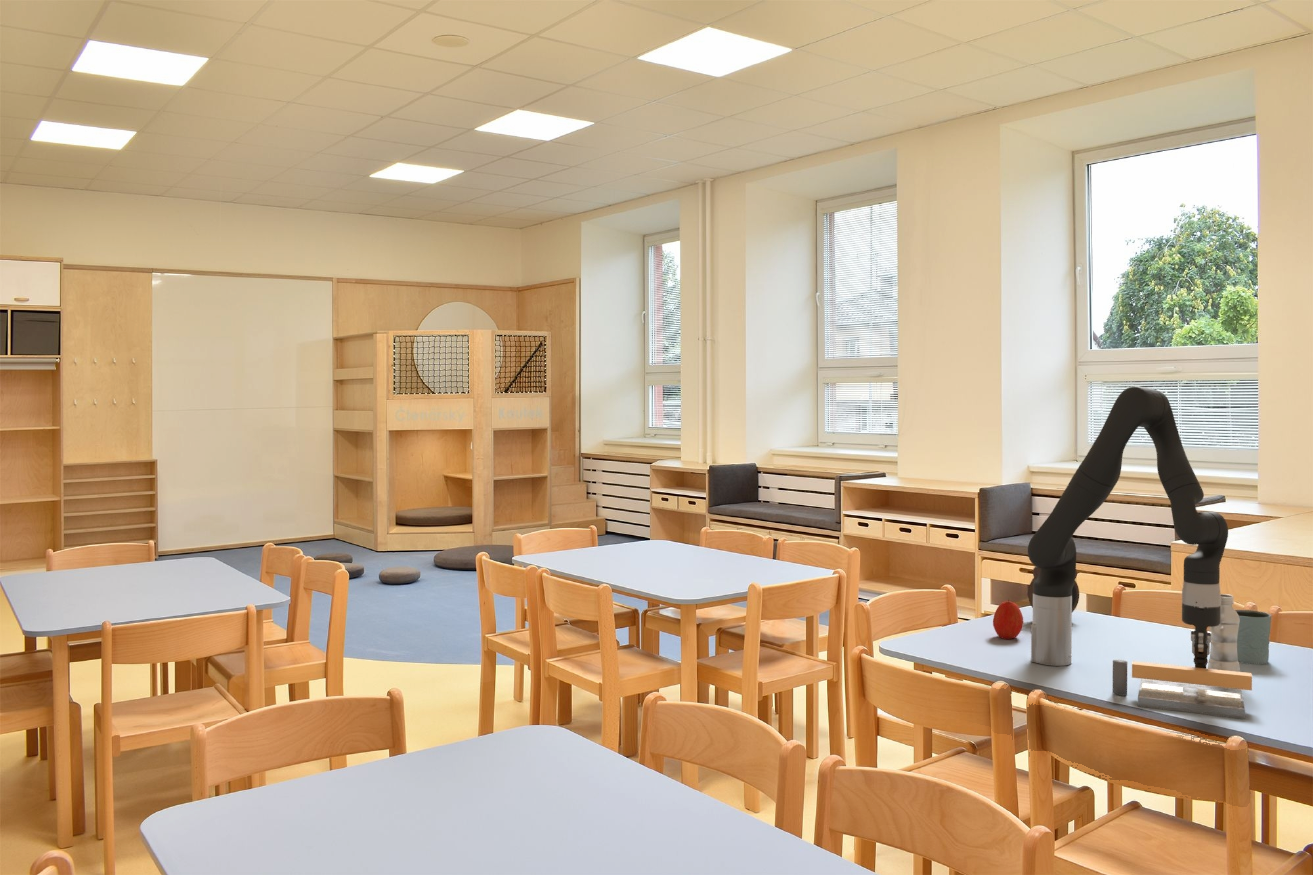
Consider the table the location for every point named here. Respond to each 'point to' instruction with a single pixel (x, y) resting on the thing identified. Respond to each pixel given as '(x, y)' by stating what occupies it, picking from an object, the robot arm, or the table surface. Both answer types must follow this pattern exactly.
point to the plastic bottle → (1225, 638)
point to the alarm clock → (1074, 590)
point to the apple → (1008, 620)
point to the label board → (1191, 698)
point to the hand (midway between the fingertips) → (1200, 680)
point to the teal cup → (1253, 637)
